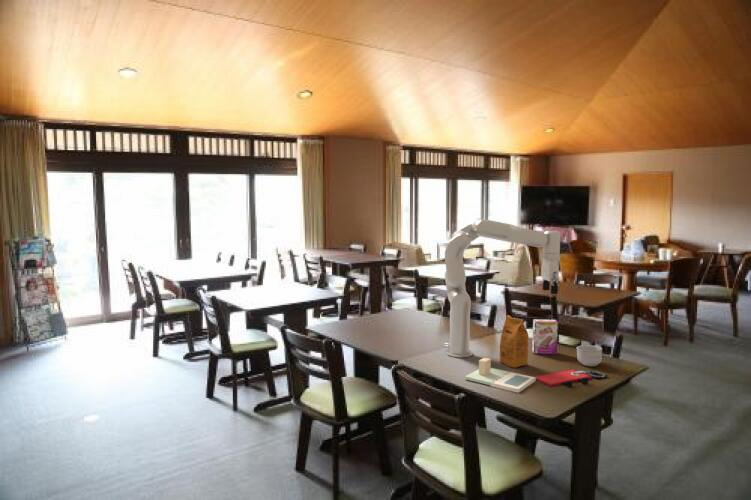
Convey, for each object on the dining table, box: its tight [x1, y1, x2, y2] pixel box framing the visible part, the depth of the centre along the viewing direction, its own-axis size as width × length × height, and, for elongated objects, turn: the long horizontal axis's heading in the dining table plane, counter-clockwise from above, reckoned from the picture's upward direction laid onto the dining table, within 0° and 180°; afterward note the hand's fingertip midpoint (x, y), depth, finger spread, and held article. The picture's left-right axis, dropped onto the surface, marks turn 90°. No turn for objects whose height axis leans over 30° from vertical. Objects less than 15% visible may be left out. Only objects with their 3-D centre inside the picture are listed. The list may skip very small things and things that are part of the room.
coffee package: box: [499, 314, 529, 369], centre depth 238 cm, size 10×12×22 cm
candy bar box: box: [531, 318, 559, 356], centre depth 255 cm, size 11×5×16 cm, turn 84°
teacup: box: [576, 344, 603, 367], centre depth 238 cm, size 14×11×8 cm
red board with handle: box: [532, 368, 609, 388], centre depth 219 cm, size 30×3×15 cm
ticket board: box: [489, 371, 537, 394], centre depth 214 cm, size 12×17×2 cm
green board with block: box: [464, 357, 509, 386], centre depth 221 cm, size 11×17×7 cm
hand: (550, 291), depth 251 cm, fingers open, 9 cm apart
